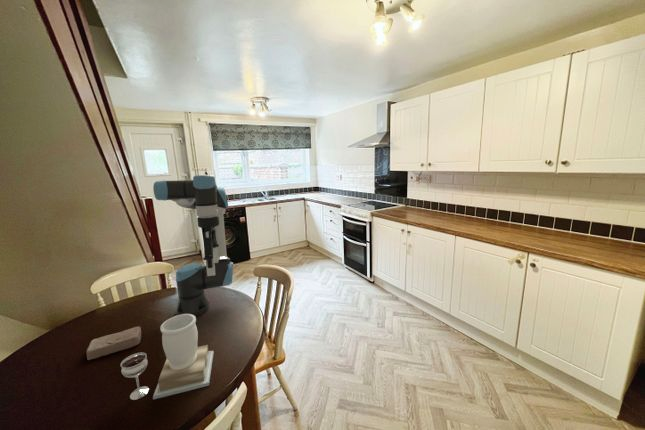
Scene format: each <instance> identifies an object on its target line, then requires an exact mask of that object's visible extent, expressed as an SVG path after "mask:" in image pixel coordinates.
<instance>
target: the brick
mask: <svg viewBox="0 0 645 430" xmlns="http://www.w3.org/2000/svg"><path fill="white" fill-rule="evenodd" d="M141 338H142V329H141V326H134V327H132V328H128V329H125V330H122V331H120V332H115V333H112V334H107V335H103V336H101V337H98V338H94V339H92V340H91V341H90V342H89V346H88V347H87V349H86V359H87V360H88V361H90V360H94V359H98V358H101V357H103V356H108V355H110V354H114V353H117V352H119V351H124V350H127V349H130V348H132V347H135V346H137V345H139V344H140V343H141V341H142V340H141Z"/></svg>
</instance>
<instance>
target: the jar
mask: <svg viewBox="0 0 645 430" xmlns="http://www.w3.org/2000/svg"><path fill="white" fill-rule="evenodd" d="M196 317H197V316H195V315H193V314H181V315H177V314H176V315H175V316H172V317H170V318H168V319H166V320H165V321H164V322H163V323H162V324H161V325H160V329H159V330H160V332H161V335H162V336H161V340H162V341H161V342H162V349H163V351H164V354H165V357H166V359H168V361H169V362H170V364H169V367H170V368H171V369H172V370H181V369H184V368H187V367H189V366H190V365H192V364H193V363H194V362H195V360H196V359H197V354H196V350H197V347H198V342H199V341H198V339H199V337H198V336H199V332H198V327H197V325H196V322H197V318H196Z"/></svg>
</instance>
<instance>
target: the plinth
mask: <svg viewBox="0 0 645 430" xmlns="http://www.w3.org/2000/svg"><path fill="white" fill-rule="evenodd" d="M209 351H210V350H209V345H208V344H205V345H200V346H197V350H196V354H197V359H196V360H195V362H194V363H193V364H192V365H190V366H189V367H187V368H184V369H181V370H172V369H171V368H170V367H169V364H170V362H169V361H168V359H167V358H166V360H165V362H164V364H163V367H162V370H161V372H160V375H159V378H158V380H157V382H158V383H159V390H160V391H164V390H168V389H172V388H176V387H180V386H184V385H188V384H192V383H197V382H201V381H204V379H205V374H206V368H207V362H208V356H209ZM158 383H157V384H158Z"/></svg>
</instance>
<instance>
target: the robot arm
mask: <svg viewBox="0 0 645 430" xmlns="http://www.w3.org/2000/svg"><path fill="white" fill-rule="evenodd" d="M153 195H154V198H155V199H156V201H157V200H158V201H173V202H175V204H176V205H178V207H182V208H184V209H185V208H186V209H190V210H191V209H192V210H195V214H196V217H197V218H196V220H197V227H198V228H201V229H204V231H203V234H202V235H203V247H204V248H203V251H204V255H203V256H204V257H202V260H203V261H205V265H202V263H199V262H195V263H194V262H193V263H189V264H186V265H184V266H182V267H179V269H177V270H176V273H175V281H176V287H177V296H178V297H177V298H178V299H177V305H176V309H175V312H176V316H177V315H181V314H193V315H195V317H197V316H199V315H202V314H204V313H205V312H207V311H208V310H209V309H210V306H211V305H210V301H209V300H210V299H208V297H207V294H206V292H205V290H208V289H215V288H220V287H226V286H230V285H231V284H232V283H233V279H234V278H233V276H234V273H233V272H234V262H232V261H231V258H230V257H228V254H227V243H226V231H225V219H224V213H225V212H226V211H227V209H228V208H229V202H228V198H227V197H228V196H227V193H226V190H225V188H224V187H222V186H217V182H216V177H215V175H212V174H200V175H199V174H198V175H194V176H193V177H192V179H184V180H183V179H181V180H158V181H154V183H153Z"/></svg>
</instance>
